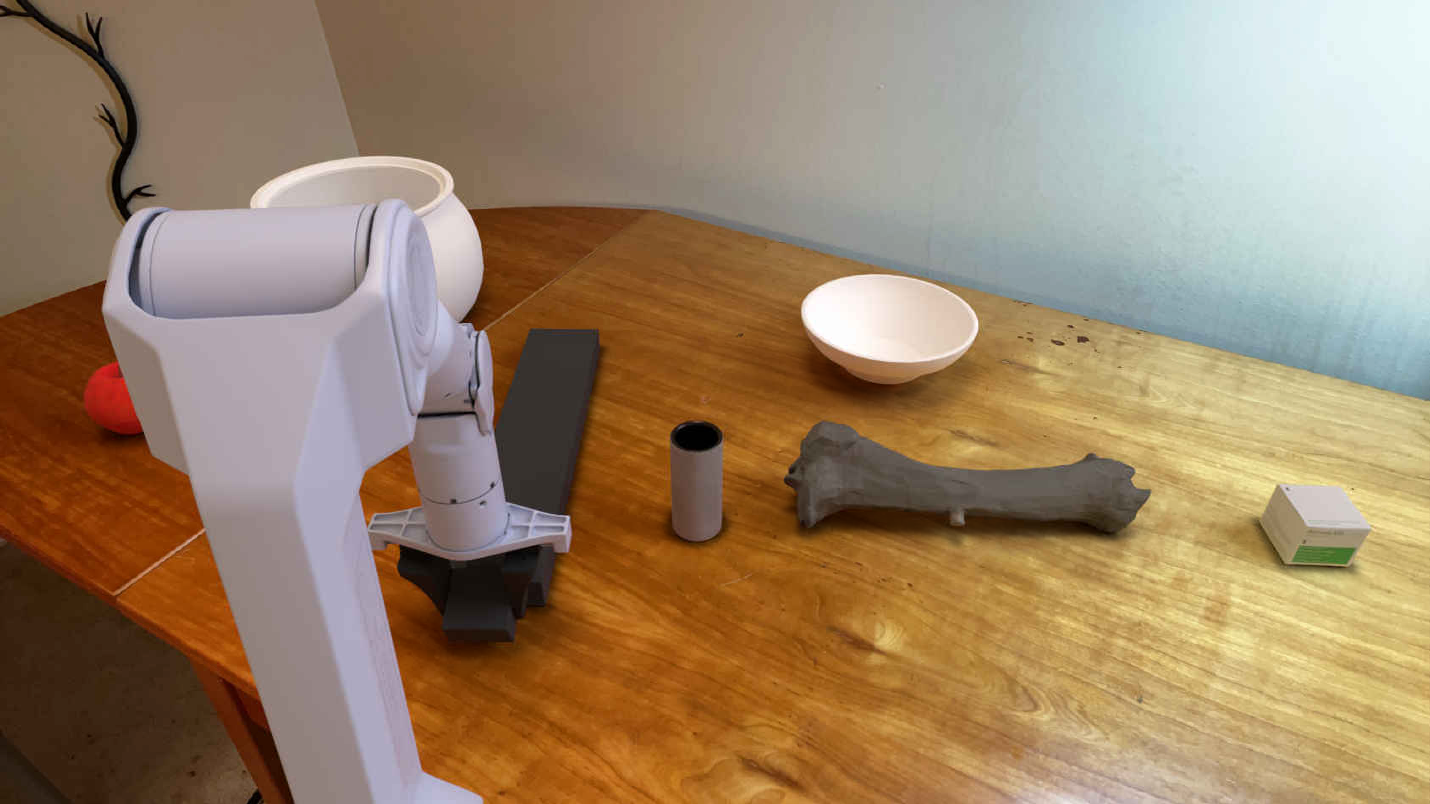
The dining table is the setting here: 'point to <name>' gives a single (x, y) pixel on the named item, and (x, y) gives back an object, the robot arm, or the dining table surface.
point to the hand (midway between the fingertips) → (486, 609)
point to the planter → (696, 479)
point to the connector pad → (479, 603)
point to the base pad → (545, 429)
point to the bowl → (888, 326)
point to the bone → (955, 485)
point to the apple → (111, 401)
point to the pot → (406, 181)
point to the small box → (1314, 525)
